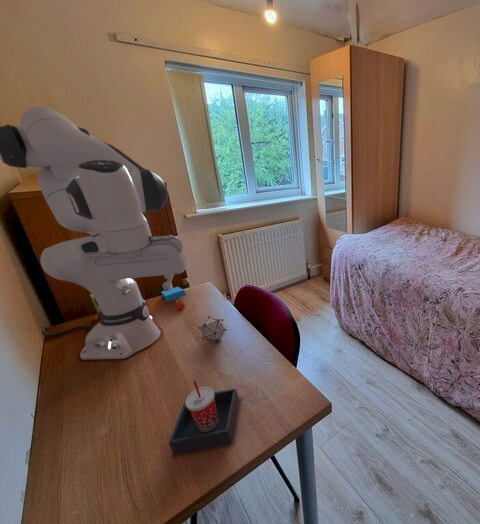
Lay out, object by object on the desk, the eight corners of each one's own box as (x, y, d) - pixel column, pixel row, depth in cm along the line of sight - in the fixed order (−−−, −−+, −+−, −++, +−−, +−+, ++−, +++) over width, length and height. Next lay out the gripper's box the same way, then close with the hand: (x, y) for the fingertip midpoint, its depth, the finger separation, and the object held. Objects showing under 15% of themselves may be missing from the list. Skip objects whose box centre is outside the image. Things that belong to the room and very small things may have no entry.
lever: (166, 306, 128) (172, 313, 115) (160, 292, 127) (167, 297, 113) (183, 300, 133) (191, 306, 119) (178, 286, 131) (185, 290, 117)
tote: (174, 455, 64) (168, 442, 62) (190, 408, 75) (186, 396, 73) (231, 443, 66) (227, 431, 64) (239, 399, 77) (236, 388, 75)
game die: (214, 344, 103) (205, 318, 104) (235, 336, 103) (226, 310, 104) (198, 349, 94) (189, 321, 96) (220, 340, 94) (211, 312, 95)
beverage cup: (221, 429, 68) (208, 387, 63) (193, 439, 66) (177, 396, 61) (222, 409, 74) (210, 368, 68) (196, 416, 72) (181, 375, 66)
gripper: (183, 230, 68) (197, 281, 74) (85, 237, 64) (108, 290, 70) (173, 238, 62) (189, 293, 68) (66, 247, 59) (92, 303, 65)
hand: (147, 291), depth 69 cm, fingers open, 8 cm apart
